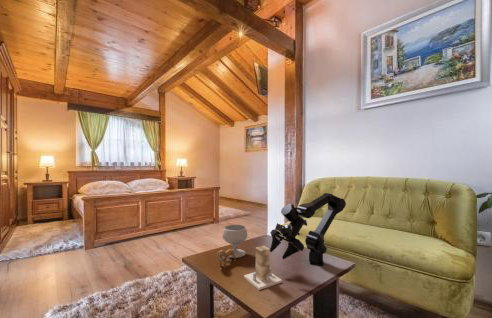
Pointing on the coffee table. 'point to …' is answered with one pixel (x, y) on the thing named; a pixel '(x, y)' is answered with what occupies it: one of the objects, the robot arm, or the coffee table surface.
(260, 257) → the birch post
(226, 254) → the lion figurine
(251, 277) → the peg stand
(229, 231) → the chalice
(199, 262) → the coffee table surface
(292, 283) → the coffee table surface
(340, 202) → the robot arm
